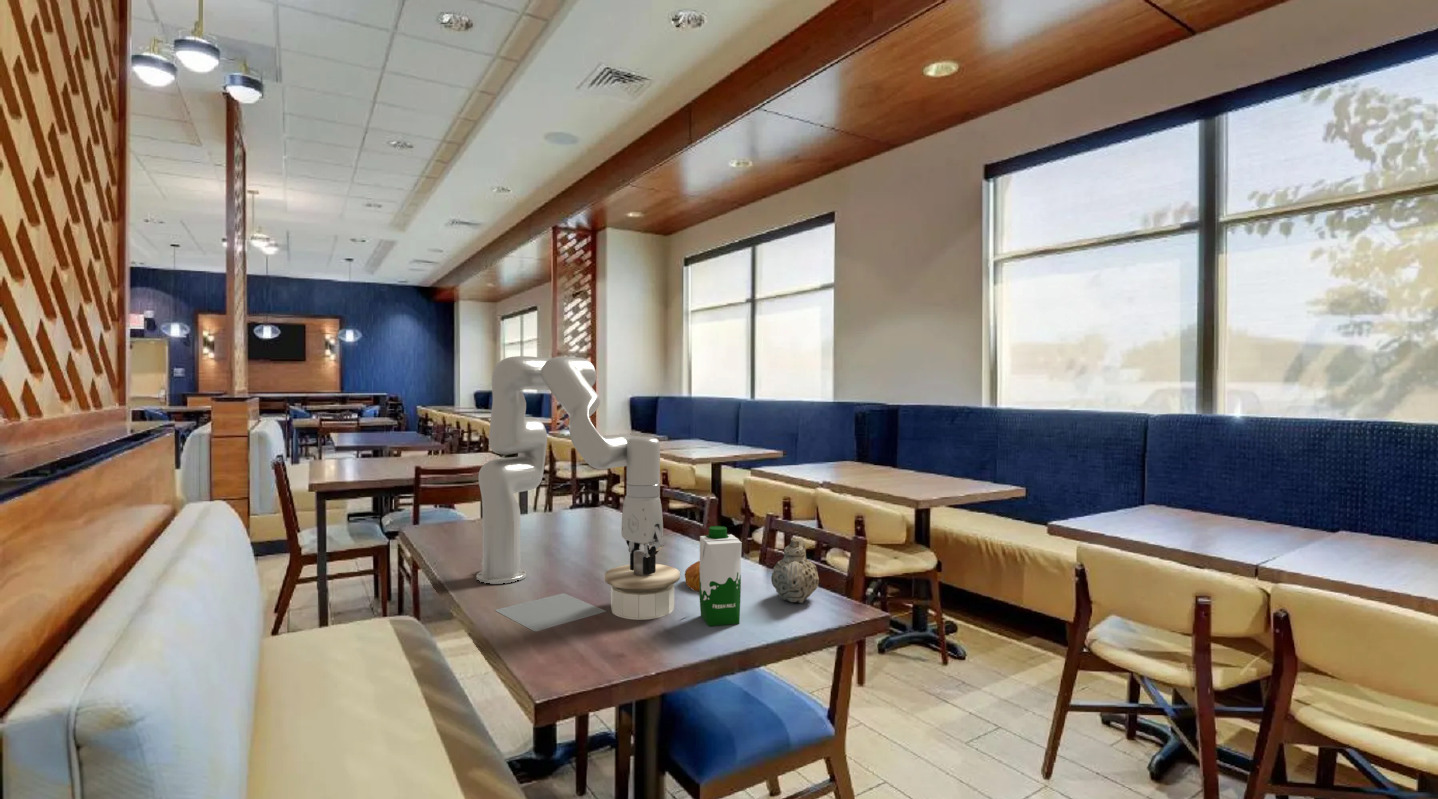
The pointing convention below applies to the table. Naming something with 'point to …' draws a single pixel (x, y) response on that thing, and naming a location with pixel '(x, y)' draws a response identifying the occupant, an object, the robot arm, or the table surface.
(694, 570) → the croissant
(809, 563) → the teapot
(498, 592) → the table surface
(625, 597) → the bowl
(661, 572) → the lid
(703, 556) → the milk carton
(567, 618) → the mat
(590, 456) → the robot arm
